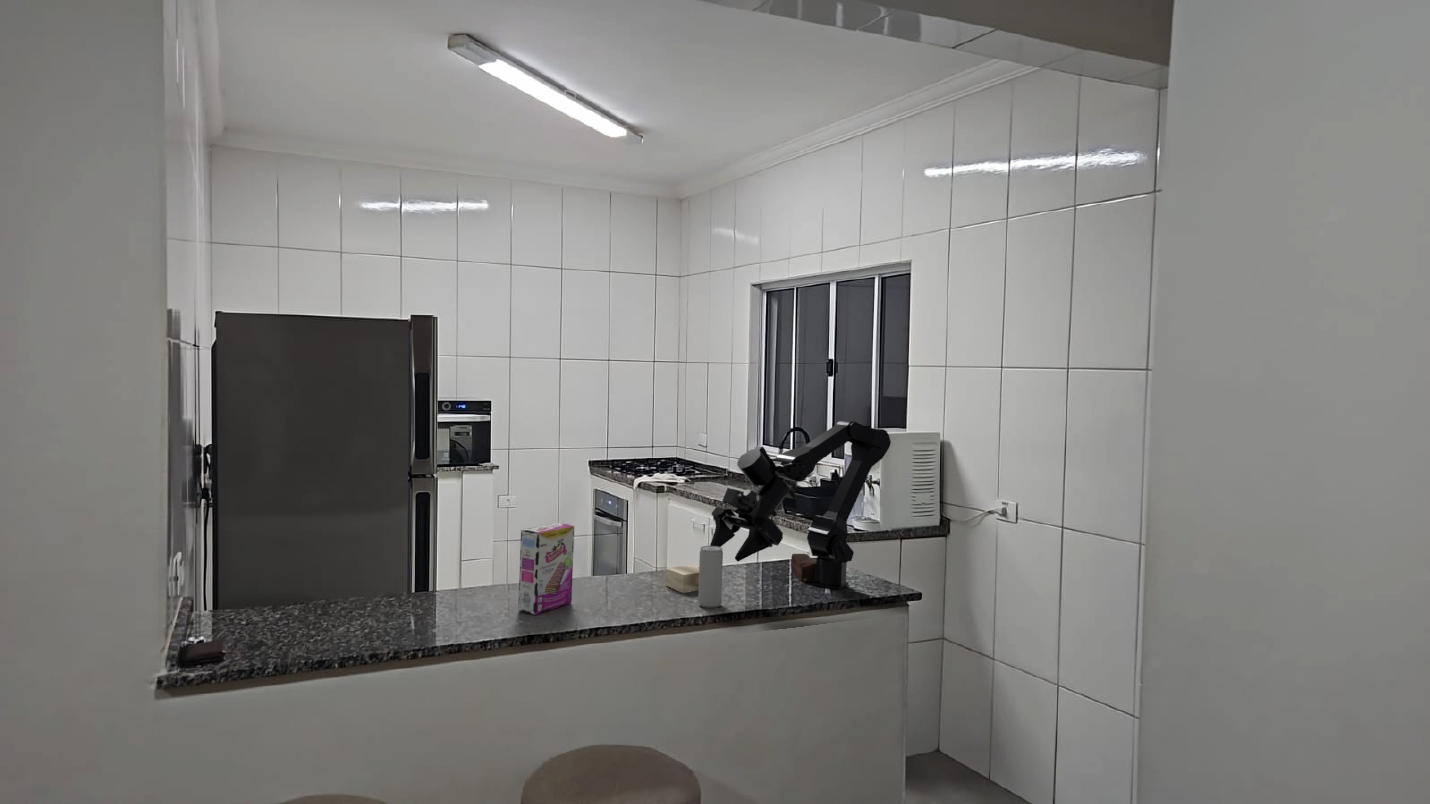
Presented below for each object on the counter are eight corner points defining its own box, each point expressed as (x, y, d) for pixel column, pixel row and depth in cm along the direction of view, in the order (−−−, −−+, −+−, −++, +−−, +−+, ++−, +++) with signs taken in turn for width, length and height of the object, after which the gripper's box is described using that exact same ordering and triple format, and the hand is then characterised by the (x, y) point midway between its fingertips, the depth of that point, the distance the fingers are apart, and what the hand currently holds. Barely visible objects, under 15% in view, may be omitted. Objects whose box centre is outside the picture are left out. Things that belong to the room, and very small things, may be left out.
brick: (790, 572, 216) (791, 553, 215) (806, 572, 216) (806, 553, 216) (801, 583, 205) (801, 563, 205) (817, 583, 206) (818, 563, 205)
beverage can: (695, 603, 185) (696, 546, 184) (716, 601, 186) (718, 545, 186) (702, 609, 180) (704, 551, 180) (724, 607, 182) (726, 549, 181)
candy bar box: (536, 616, 172) (538, 532, 171) (517, 611, 175) (518, 529, 174) (573, 603, 182) (575, 524, 181) (555, 599, 184) (556, 521, 184)
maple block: (691, 582, 202) (691, 564, 202) (709, 588, 197) (709, 571, 196) (665, 585, 198) (665, 568, 198) (682, 593, 192) (683, 574, 192)
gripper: (720, 469, 195) (676, 523, 189) (774, 480, 180) (728, 538, 174) (746, 503, 200) (705, 556, 194) (801, 516, 185) (758, 574, 178)
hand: (722, 555), depth 185 cm, fingers open, 9 cm apart
